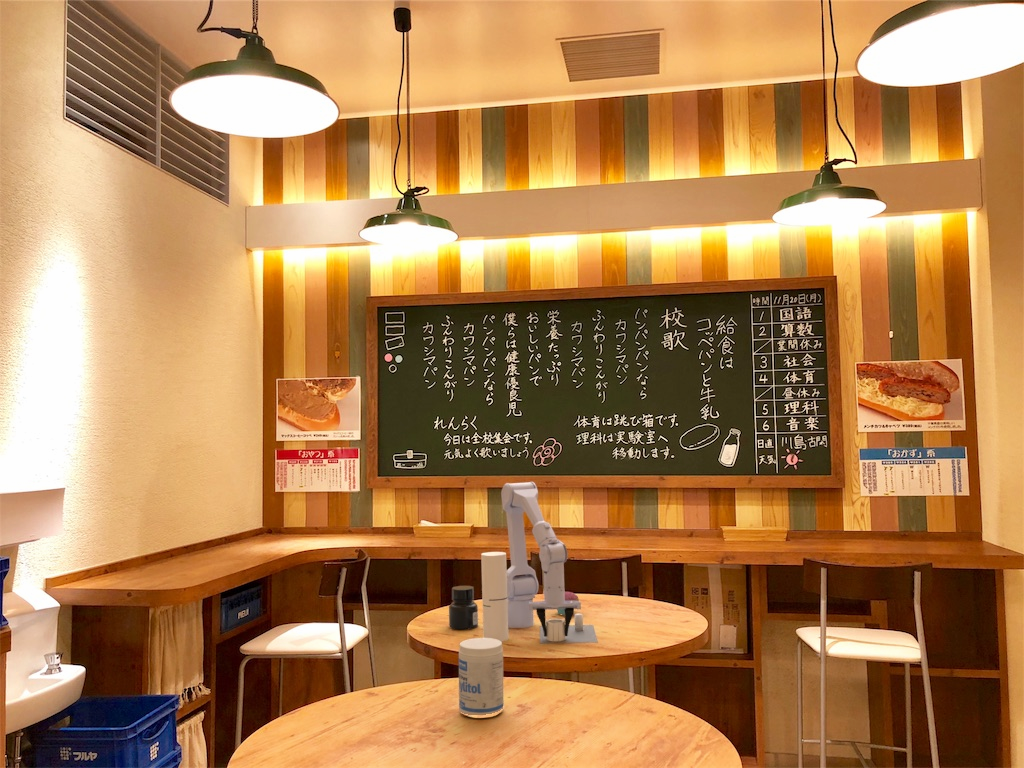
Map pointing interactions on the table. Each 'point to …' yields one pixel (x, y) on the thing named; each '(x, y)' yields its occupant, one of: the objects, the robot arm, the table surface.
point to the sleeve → (555, 629)
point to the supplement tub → (480, 676)
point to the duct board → (574, 633)
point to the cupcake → (568, 597)
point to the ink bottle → (463, 609)
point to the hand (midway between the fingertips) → (555, 635)
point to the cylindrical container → (494, 595)
